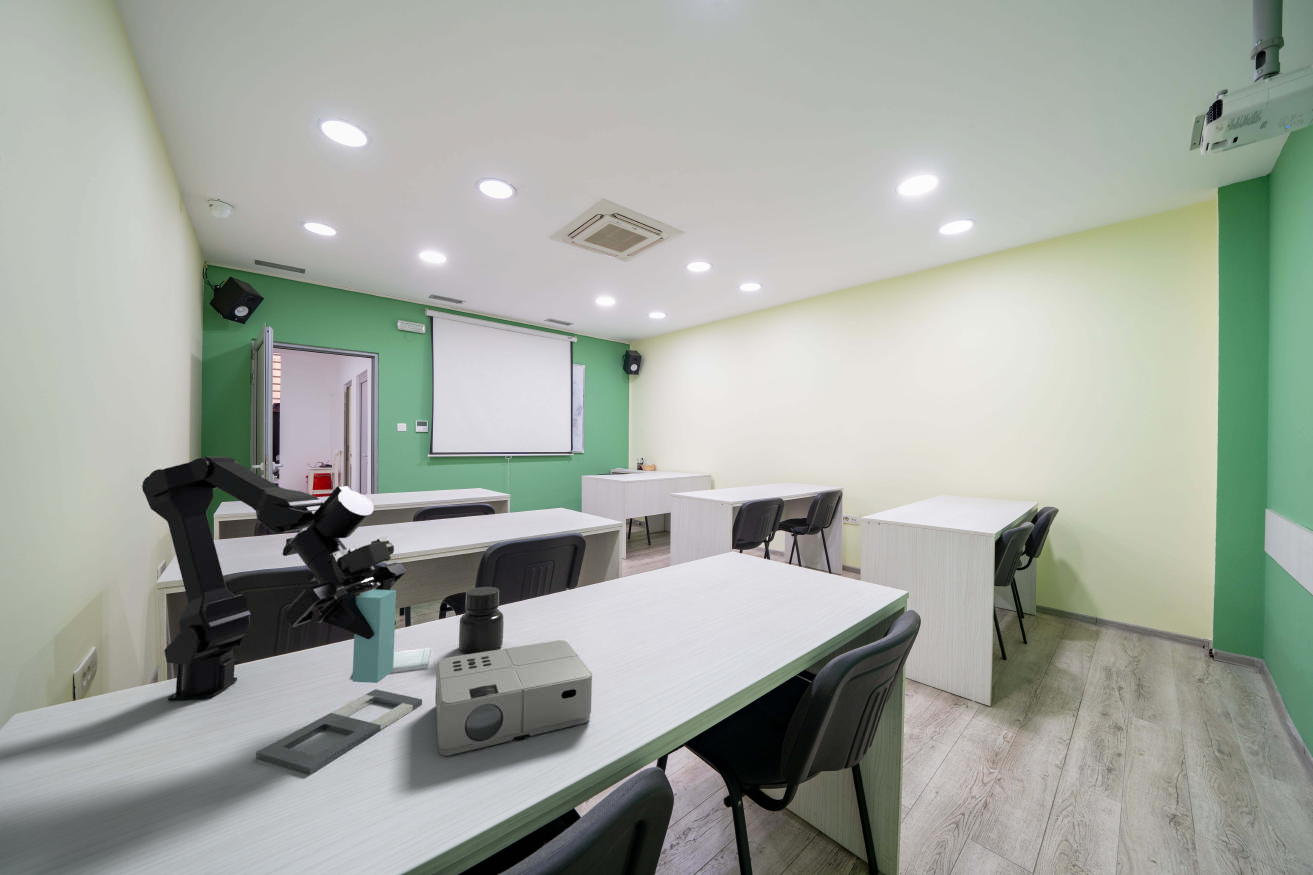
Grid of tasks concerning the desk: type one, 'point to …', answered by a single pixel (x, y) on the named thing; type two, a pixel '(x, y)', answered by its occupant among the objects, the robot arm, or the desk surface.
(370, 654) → the plug
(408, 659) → the hard drive
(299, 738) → the panel
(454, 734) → the projector
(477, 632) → the ink bottle
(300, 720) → the desk surface
